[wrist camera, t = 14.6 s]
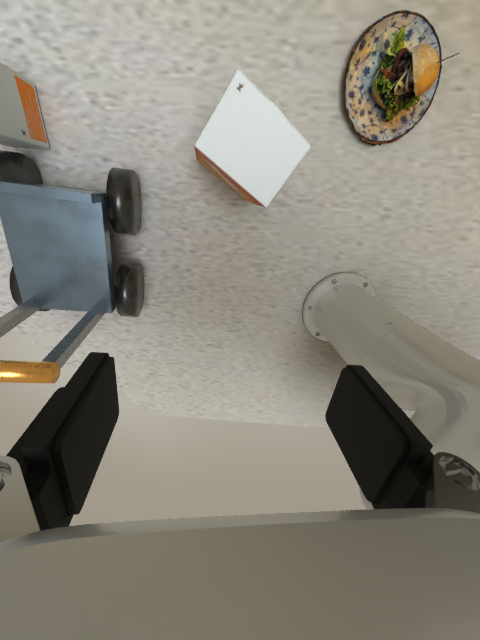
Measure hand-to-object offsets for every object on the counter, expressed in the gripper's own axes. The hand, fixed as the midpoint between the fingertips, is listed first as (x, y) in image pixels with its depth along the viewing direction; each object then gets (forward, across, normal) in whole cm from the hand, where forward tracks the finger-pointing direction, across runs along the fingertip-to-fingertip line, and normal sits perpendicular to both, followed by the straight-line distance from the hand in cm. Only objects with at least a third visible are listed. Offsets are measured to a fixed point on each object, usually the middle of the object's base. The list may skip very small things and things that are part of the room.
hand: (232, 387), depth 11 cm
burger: (+31, -19, -21) cm, 42 cm away
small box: (+30, -2, -11) cm, 32 cm away
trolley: (+30, +17, +1) cm, 34 cm away
